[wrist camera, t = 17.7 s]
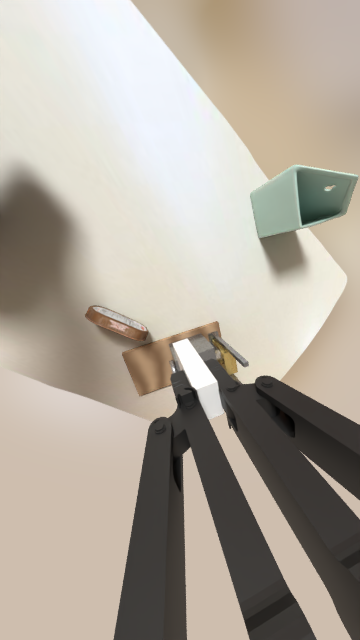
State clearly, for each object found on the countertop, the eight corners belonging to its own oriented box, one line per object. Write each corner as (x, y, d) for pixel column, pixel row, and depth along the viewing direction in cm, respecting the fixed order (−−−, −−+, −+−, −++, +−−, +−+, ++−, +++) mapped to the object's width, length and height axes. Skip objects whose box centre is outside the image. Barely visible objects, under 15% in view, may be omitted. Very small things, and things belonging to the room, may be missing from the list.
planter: (236, 222, 46) (300, 193, 28) (251, 191, 45) (328, 140, 27) (279, 252, 52) (357, 244, 33) (294, 225, 50) (384, 202, 32)
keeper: (213, 359, 55) (227, 375, 46) (209, 340, 52) (223, 353, 44) (222, 356, 55) (237, 371, 47) (219, 336, 53) (234, 350, 44)
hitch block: (178, 377, 55) (196, 425, 38) (168, 344, 51) (182, 381, 34) (222, 361, 57) (257, 400, 40) (216, 328, 53) (251, 356, 36)
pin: (172, 374, 52) (177, 387, 47) (167, 357, 50) (171, 368, 45) (222, 356, 54) (232, 366, 49) (219, 339, 52) (229, 347, 47)
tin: (89, 311, 45) (79, 321, 37) (94, 300, 44) (85, 307, 36) (144, 334, 50) (145, 346, 42) (149, 324, 49) (151, 335, 41)
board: (139, 393, 55) (139, 396, 54) (122, 352, 50) (121, 354, 49) (224, 362, 59) (226, 364, 57) (216, 321, 54) (218, 322, 52)
